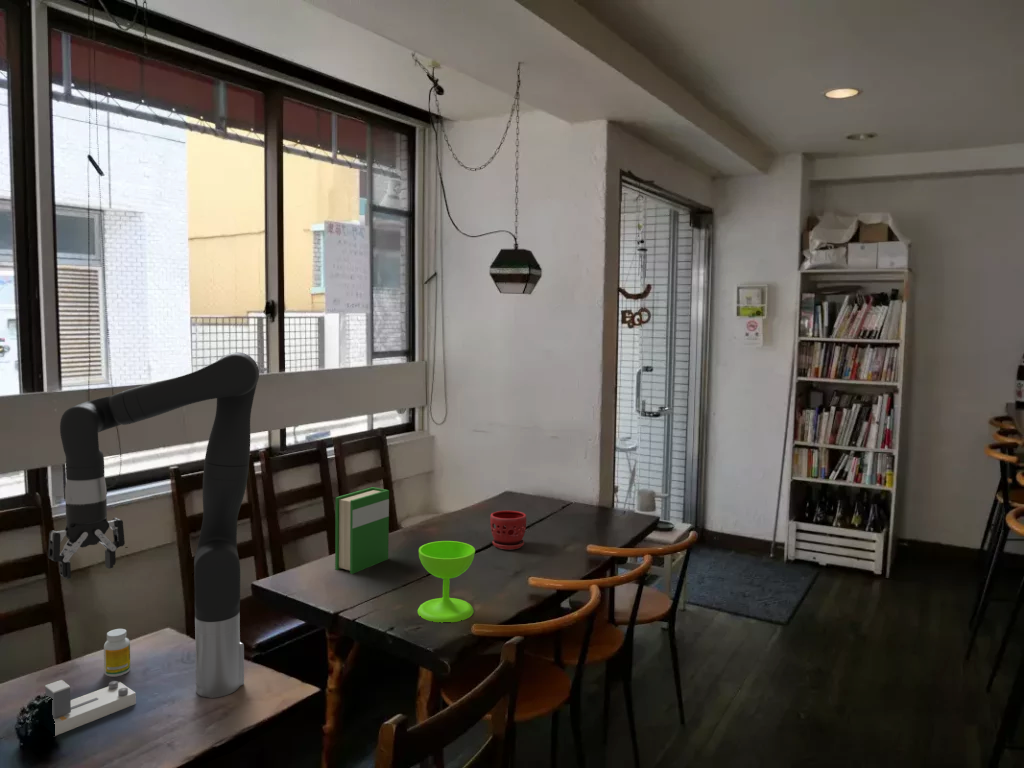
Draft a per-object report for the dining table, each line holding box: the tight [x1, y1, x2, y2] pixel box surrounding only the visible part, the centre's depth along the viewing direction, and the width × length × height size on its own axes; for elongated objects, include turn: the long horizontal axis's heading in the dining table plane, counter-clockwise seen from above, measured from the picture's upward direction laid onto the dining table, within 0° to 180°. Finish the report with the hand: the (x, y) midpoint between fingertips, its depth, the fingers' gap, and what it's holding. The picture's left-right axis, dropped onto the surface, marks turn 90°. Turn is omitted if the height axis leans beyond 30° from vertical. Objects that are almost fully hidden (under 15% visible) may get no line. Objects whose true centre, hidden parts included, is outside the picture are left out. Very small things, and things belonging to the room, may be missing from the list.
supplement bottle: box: [103, 628, 131, 678], centre depth 173 cm, size 5×5×10 cm
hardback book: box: [334, 486, 390, 575], centre depth 249 cm, size 18×7×24 cm, turn 149°
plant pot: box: [489, 510, 527, 551], centre depth 273 cm, size 13×13×12 cm
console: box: [53, 680, 137, 737], centre depth 156 cm, size 16×7×4 cm, turn 142°
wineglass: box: [417, 540, 476, 624], centre depth 213 cm, size 16×16×18 cm
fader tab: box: [44, 679, 71, 718], centre depth 151 cm, size 3×4×6 cm
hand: (88, 572), depth 159 cm, fingers open, 8 cm apart
